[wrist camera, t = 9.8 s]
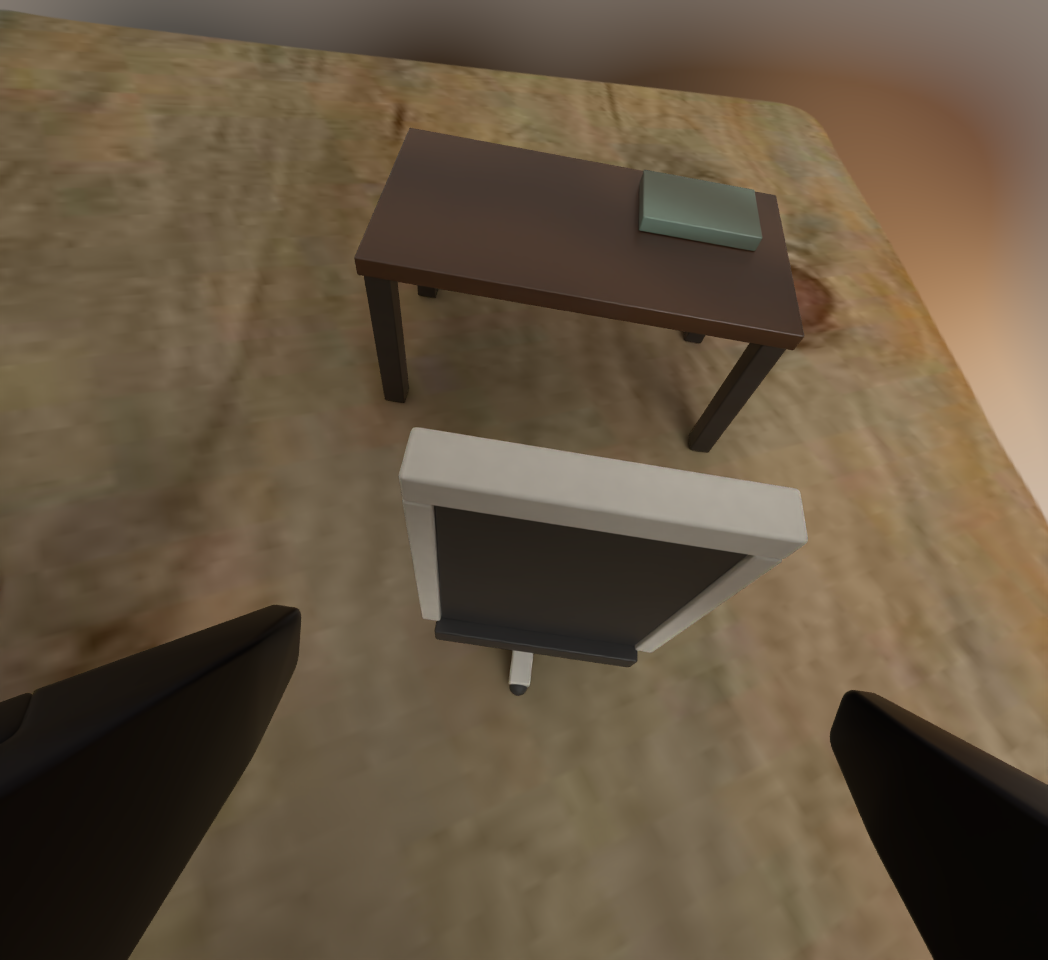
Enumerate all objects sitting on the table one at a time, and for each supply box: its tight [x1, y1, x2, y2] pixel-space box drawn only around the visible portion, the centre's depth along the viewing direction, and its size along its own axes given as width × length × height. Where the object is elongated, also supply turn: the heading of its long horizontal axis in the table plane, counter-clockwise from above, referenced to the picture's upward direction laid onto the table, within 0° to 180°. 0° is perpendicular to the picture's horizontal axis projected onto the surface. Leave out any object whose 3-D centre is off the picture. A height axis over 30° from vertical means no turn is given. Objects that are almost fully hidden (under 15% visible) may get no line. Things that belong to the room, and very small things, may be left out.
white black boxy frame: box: [399, 427, 808, 696], centre depth 15 cm, size 7×7×12 cm
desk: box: [354, 128, 804, 452], centre depth 23 cm, size 8×15×8 cm, turn 83°
